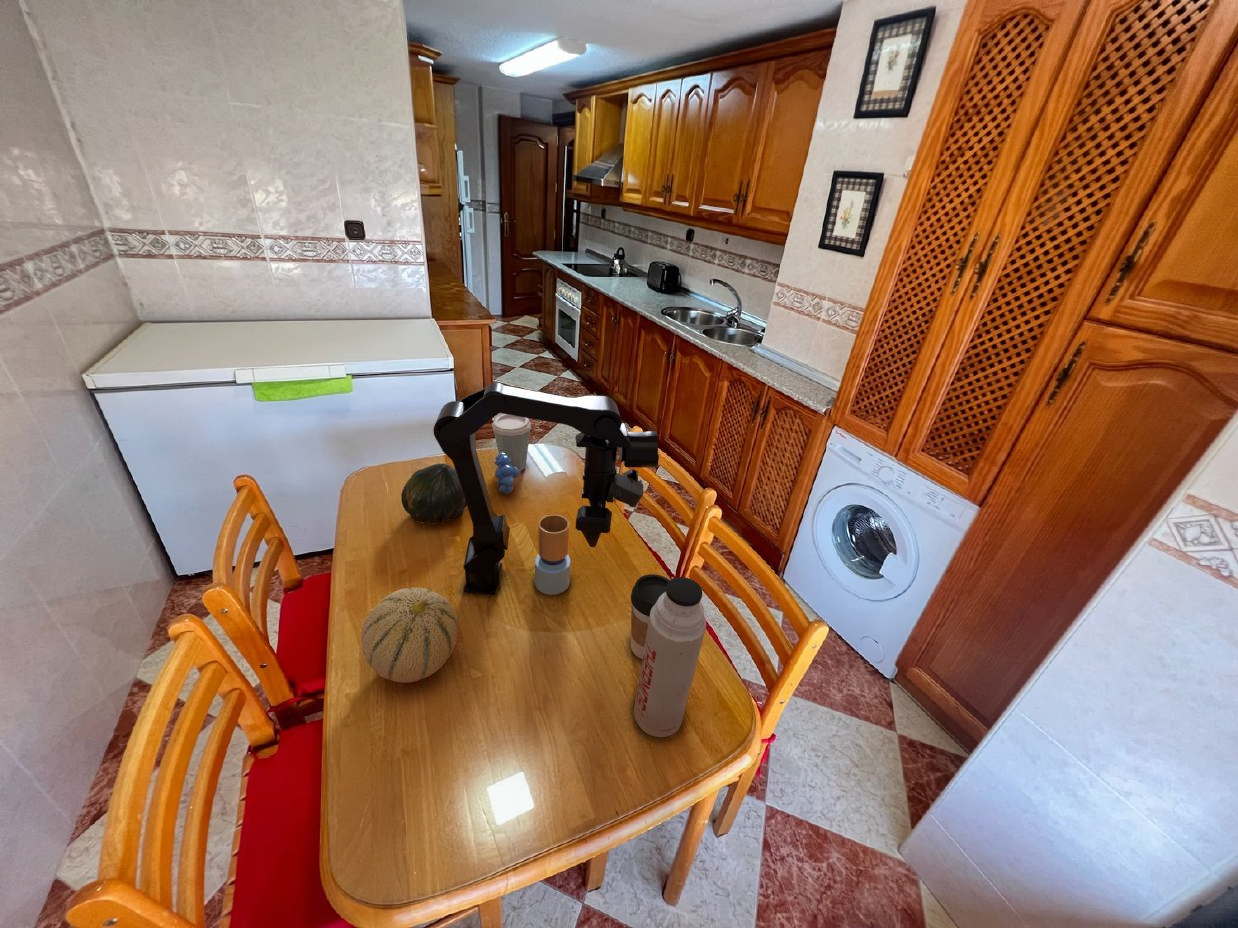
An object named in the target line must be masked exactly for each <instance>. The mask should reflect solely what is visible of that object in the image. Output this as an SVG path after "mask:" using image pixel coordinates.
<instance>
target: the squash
mask: <svg viewBox="0 0 1238 928" xmlns="http://www.w3.org/2000/svg"><path fill="white" fill-rule="evenodd" d="M400 495H401V499H400V501H401V505H402V507H403V509H404V511H405V512H406V513H407V514H409V516H410V518H411V520H413V521H414V522H417V523H420V524H421V523H422V524H423V523H427V522H428V523H429V524H433V525H436V524H438V522H441V523H445V522H448V521H453V520H458V519H460V518H461V517H462V516H463V514H464V511H465V509H466V507H467V504H466V501H465V498H464V495H463V492H462V489H461V486H460V482H459V479H458V476H457V473H456V470H455V467H453V466H452V465H449V464H447V463H435V464H432V465H429V466H427V467H424V468H421V469H418V470H416V471H415V472H414V473H413V474H412V475H411V476H410V478H408V480H407V481H406V482H405V485H404V487H403V488H402V491H401V494H400Z"/></svg>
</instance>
